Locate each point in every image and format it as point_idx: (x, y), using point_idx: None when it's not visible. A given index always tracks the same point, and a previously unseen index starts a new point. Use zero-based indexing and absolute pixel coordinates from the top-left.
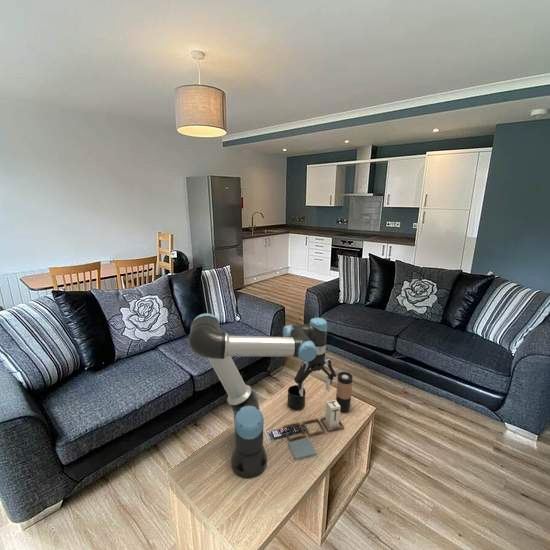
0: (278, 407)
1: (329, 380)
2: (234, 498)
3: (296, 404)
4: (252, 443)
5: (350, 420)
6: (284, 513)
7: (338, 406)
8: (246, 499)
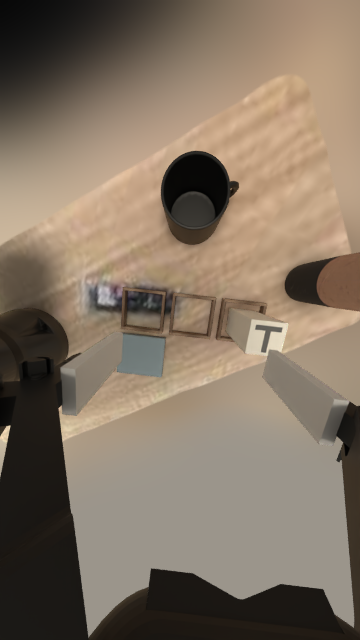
0: (140, 208)
1: (317, 436)
2: None
3: (181, 236)
4: None
5: (289, 326)
6: (72, 434)
7: None
8: None
